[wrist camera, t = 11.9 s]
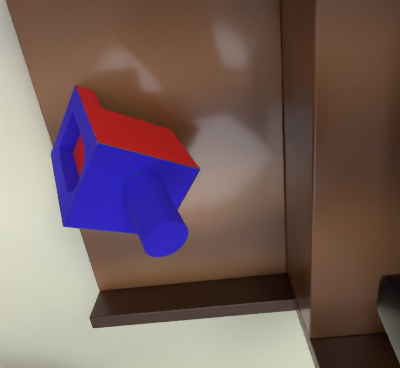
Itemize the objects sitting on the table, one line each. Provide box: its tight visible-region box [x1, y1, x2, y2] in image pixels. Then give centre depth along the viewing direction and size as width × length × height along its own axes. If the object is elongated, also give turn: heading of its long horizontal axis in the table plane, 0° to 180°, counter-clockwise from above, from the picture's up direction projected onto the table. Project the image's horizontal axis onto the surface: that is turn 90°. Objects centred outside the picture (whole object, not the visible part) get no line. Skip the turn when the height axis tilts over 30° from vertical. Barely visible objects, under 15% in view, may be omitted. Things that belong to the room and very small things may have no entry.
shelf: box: [6, 0, 400, 368], centre depth 14 cm, size 19×16×10 cm
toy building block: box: [51, 85, 201, 258], centre depth 13 cm, size 4×4×8 cm
